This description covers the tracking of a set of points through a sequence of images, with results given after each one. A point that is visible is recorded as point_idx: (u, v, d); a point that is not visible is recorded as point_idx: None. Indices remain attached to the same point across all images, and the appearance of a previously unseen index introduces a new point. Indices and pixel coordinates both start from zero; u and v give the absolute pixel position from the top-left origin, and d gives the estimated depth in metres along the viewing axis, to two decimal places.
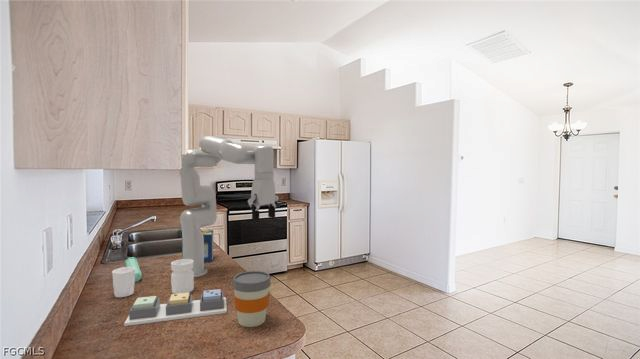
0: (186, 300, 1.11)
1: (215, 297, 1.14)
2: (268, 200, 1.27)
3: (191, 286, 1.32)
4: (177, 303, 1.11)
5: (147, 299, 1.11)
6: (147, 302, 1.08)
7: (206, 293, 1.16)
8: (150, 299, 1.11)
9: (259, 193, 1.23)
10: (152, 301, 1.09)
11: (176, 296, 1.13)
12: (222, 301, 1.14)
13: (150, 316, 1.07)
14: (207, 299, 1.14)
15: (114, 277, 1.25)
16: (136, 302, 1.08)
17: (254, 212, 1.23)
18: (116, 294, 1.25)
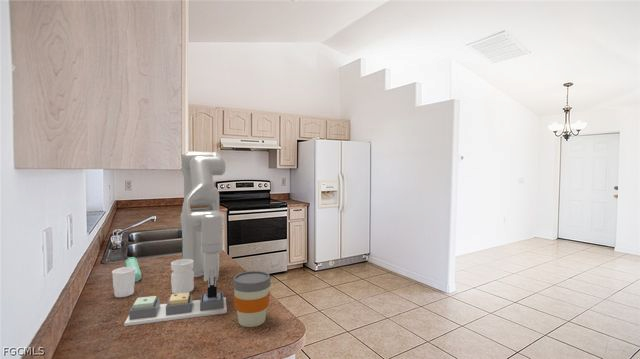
0: (186, 300, 1.11)
1: None
2: None
3: (191, 286, 1.32)
4: (177, 303, 1.11)
5: (147, 299, 1.11)
6: (147, 302, 1.08)
7: (206, 297, 1.16)
8: (150, 299, 1.11)
9: (217, 267, 1.12)
10: (152, 301, 1.09)
11: (176, 296, 1.13)
12: (222, 301, 1.14)
13: (150, 316, 1.07)
14: None
15: (114, 277, 1.25)
16: (136, 302, 1.08)
17: (212, 289, 1.15)
18: (116, 294, 1.25)
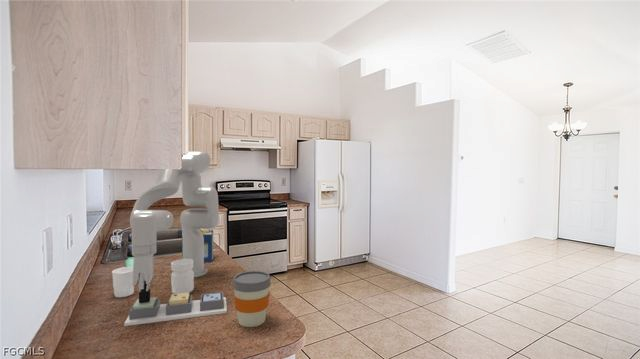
0: (186, 300, 1.11)
1: None
2: (151, 275, 1.10)
3: (191, 286, 1.32)
4: (177, 303, 1.11)
5: None
6: (147, 303, 1.08)
7: (206, 298, 1.16)
8: (150, 300, 1.11)
9: (147, 271, 1.05)
10: (152, 302, 1.09)
11: (176, 296, 1.13)
12: (222, 301, 1.14)
13: (150, 316, 1.07)
14: None
15: (114, 277, 1.25)
16: (136, 303, 1.08)
17: (144, 293, 1.08)
18: (116, 294, 1.25)
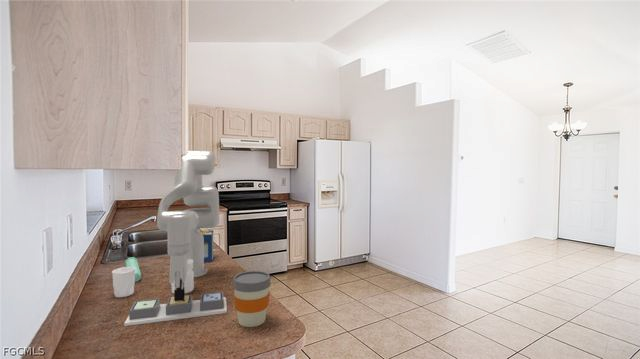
0: (186, 303, 1.11)
1: None
2: None
3: (191, 286, 1.32)
4: None
5: (147, 303, 1.11)
6: (147, 306, 1.08)
7: (206, 298, 1.16)
8: (150, 303, 1.11)
9: (183, 269, 1.09)
10: (152, 305, 1.09)
11: None
12: (222, 301, 1.14)
13: (150, 316, 1.07)
14: None
15: (114, 277, 1.25)
16: (136, 306, 1.08)
17: (179, 291, 1.12)
18: (116, 294, 1.25)
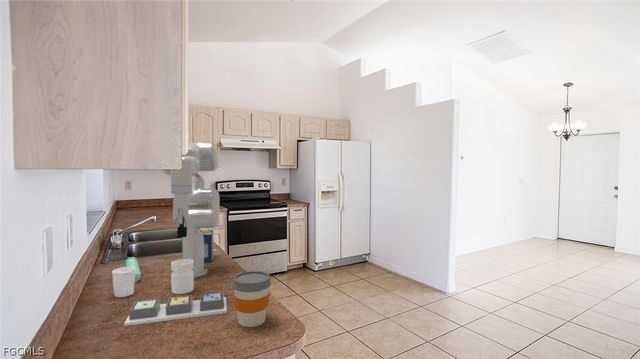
0: None
1: None
2: (188, 213, 1.23)
3: (191, 286, 1.32)
4: None
5: (147, 303, 1.11)
6: (147, 306, 1.08)
7: (206, 298, 1.16)
8: (150, 303, 1.11)
9: (185, 207, 1.18)
10: (152, 305, 1.09)
11: (176, 300, 1.13)
12: (222, 301, 1.14)
13: (150, 316, 1.07)
14: None
15: (114, 277, 1.25)
16: (136, 306, 1.08)
17: (182, 229, 1.21)
18: (116, 294, 1.25)
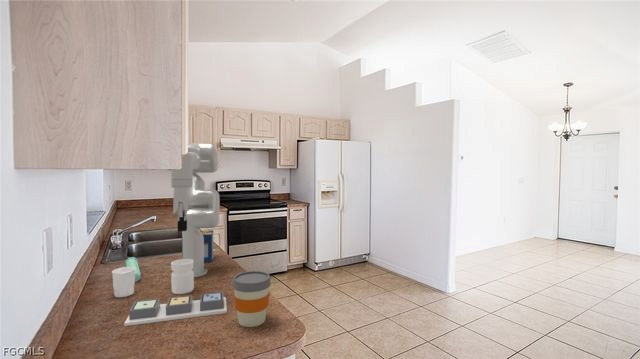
0: None
1: None
2: (188, 207, 1.23)
3: (191, 286, 1.32)
4: None
5: (147, 303, 1.11)
6: (147, 306, 1.08)
7: (206, 298, 1.16)
8: (150, 303, 1.11)
9: (186, 201, 1.19)
10: (152, 305, 1.09)
11: (176, 300, 1.13)
12: (222, 301, 1.14)
13: (150, 316, 1.07)
14: None
15: (114, 277, 1.25)
16: (136, 306, 1.08)
17: (182, 222, 1.22)
18: (116, 294, 1.25)
